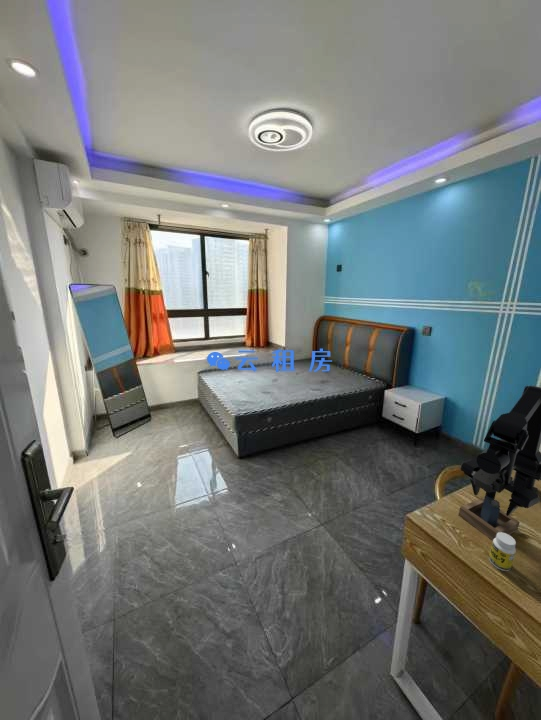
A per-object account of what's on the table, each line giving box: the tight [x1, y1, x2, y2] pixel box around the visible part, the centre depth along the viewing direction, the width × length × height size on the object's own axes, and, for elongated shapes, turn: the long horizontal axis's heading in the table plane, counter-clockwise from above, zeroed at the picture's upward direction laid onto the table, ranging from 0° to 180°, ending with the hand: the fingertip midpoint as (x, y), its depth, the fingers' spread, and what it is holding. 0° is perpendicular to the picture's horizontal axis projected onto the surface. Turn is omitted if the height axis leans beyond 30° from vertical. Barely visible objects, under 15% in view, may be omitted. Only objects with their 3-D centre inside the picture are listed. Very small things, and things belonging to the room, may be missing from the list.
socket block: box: [458, 497, 520, 541], centre depth 90 cm, size 11×11×3 cm
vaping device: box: [481, 491, 501, 527], centre depth 89 cm, size 3×5×12 cm, turn 174°
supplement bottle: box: [488, 532, 517, 572], centre depth 77 cm, size 5×5×8 cm
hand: (491, 504), depth 89 cm, fingers open, 9 cm apart
